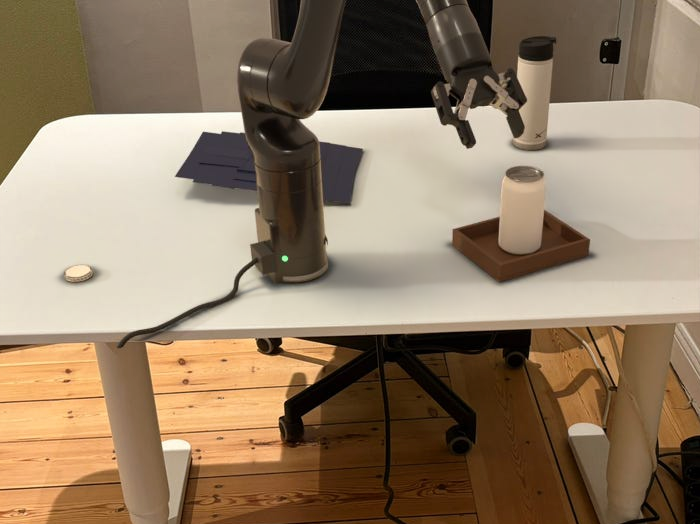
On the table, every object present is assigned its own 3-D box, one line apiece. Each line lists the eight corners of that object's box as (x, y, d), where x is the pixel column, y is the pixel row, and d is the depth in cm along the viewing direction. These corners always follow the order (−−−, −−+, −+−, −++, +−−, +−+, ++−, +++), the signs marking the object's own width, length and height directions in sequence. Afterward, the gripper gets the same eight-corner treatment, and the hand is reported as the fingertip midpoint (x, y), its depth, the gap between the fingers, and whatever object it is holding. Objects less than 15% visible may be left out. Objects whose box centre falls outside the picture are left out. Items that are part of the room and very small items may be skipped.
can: (491, 240, 145) (495, 167, 138) (530, 233, 146) (535, 162, 139) (508, 259, 140) (512, 185, 133) (547, 252, 141) (554, 179, 134)
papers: (205, 141, 177) (205, 123, 175) (362, 161, 177) (363, 143, 175) (171, 196, 157) (171, 176, 155) (348, 218, 158) (350, 199, 155)
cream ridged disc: (82, 265, 140) (81, 261, 140) (98, 273, 138) (97, 269, 138) (59, 275, 138) (58, 272, 138) (75, 284, 136) (74, 280, 135)
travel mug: (546, 151, 175) (555, 43, 163) (511, 149, 176) (517, 41, 164) (548, 139, 180) (557, 33, 168) (514, 137, 181) (521, 31, 169)
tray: (499, 282, 135) (500, 265, 134) (452, 245, 145) (452, 229, 143) (588, 255, 141) (590, 239, 140) (537, 221, 151) (538, 205, 149)
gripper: (426, 37, 136) (465, 138, 134) (508, 24, 141) (546, 121, 139) (409, 64, 143) (446, 160, 141) (487, 50, 148) (524, 143, 146)
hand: (496, 141), depth 140 cm, fingers open, 8 cm apart
